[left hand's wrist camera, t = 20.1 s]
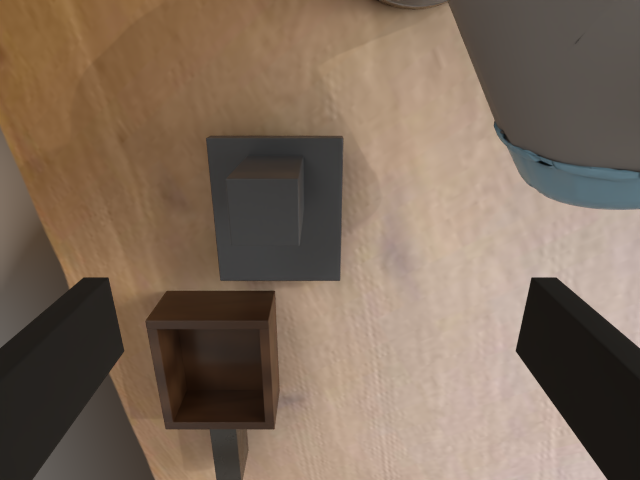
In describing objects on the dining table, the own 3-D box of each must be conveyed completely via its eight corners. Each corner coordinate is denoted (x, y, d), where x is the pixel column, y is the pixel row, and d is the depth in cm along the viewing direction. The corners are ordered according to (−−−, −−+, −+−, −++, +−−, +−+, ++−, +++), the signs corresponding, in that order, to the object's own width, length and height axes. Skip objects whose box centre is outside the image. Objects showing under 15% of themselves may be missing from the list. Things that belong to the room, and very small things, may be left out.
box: (166, 290, 45) (145, 320, 40) (274, 290, 45) (268, 320, 40) (192, 450, 54) (177, 493, 48) (282, 450, 54) (278, 492, 48)
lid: (215, 132, 39) (170, 156, 27) (341, 133, 39) (350, 156, 27) (227, 265, 44) (194, 333, 32) (338, 265, 44) (345, 333, 32)
